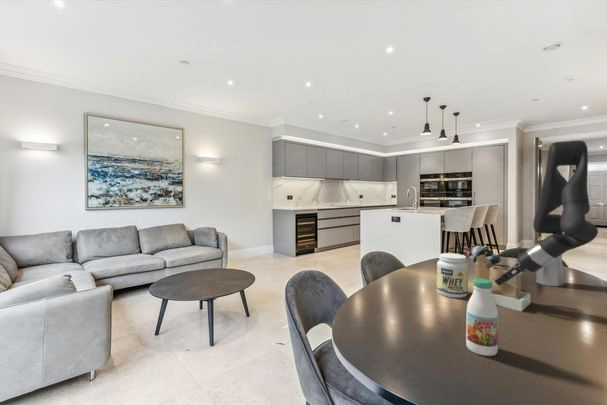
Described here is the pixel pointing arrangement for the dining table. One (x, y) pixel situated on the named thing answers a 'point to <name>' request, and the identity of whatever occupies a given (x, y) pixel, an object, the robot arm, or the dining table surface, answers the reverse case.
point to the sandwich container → (483, 267)
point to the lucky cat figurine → (481, 250)
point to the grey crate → (513, 301)
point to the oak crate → (506, 288)
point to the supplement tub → (452, 275)
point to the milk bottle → (482, 320)
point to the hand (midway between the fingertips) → (499, 281)
